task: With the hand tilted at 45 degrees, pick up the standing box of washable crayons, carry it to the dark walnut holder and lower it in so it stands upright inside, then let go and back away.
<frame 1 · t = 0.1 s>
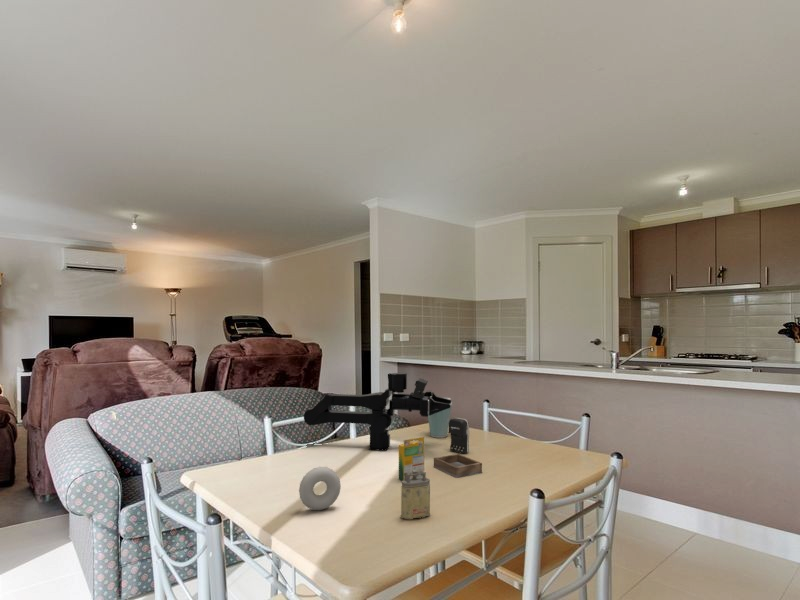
hand: (450, 403, 162), 17 cm above the table, tool horizontal, fingers open, 9 cm apart
holder: (457, 469, 141), on the table
donut: (319, 510, 110), on the table
lighter: (415, 517, 107), on the table
crayon box: (411, 479, 133), on the table
disposable coffee cup: (438, 436, 184), on the table
black upright block: (458, 452, 161), on the table
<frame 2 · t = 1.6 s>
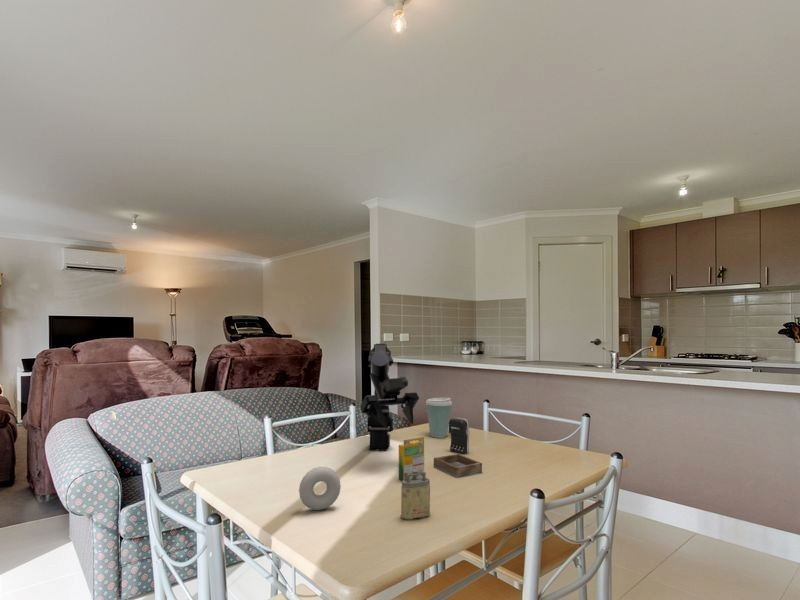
hand: (399, 425, 140), 14 cm above the table, tool tilted 45°, fingers open, 9 cm apart
nothing on the table moved.
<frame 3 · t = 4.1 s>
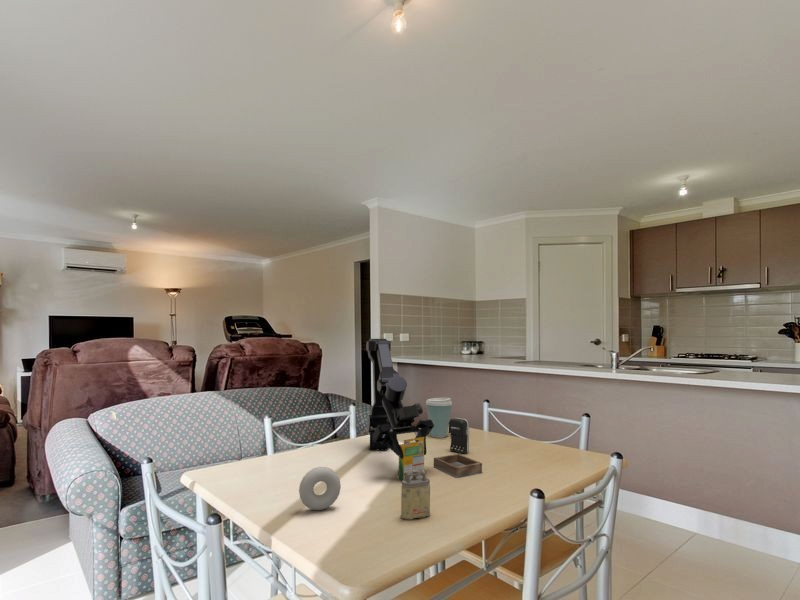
hand: (414, 456, 132), 7 cm above the table, tool tilted 45°, fingers closed on crayon box, 7 cm apart
crayon box: (411, 478, 133), on the table, touching gripper
everything else where it was.
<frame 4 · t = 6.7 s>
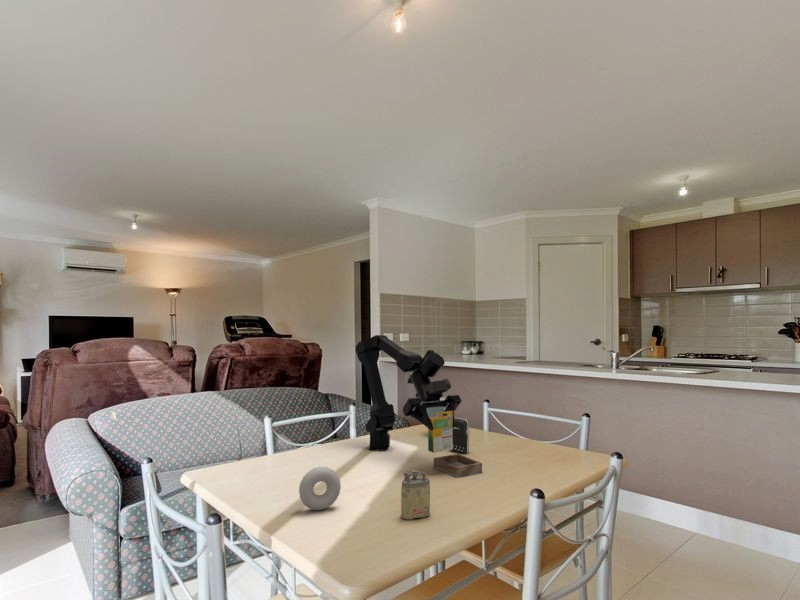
hand: (443, 428, 138), 13 cm above the table, tool tilted 45°, fingers closed on crayon box, 7 cm apart
crayon box: (440, 450, 138), point 6 cm above the table, touching gripper
everything else where it was.
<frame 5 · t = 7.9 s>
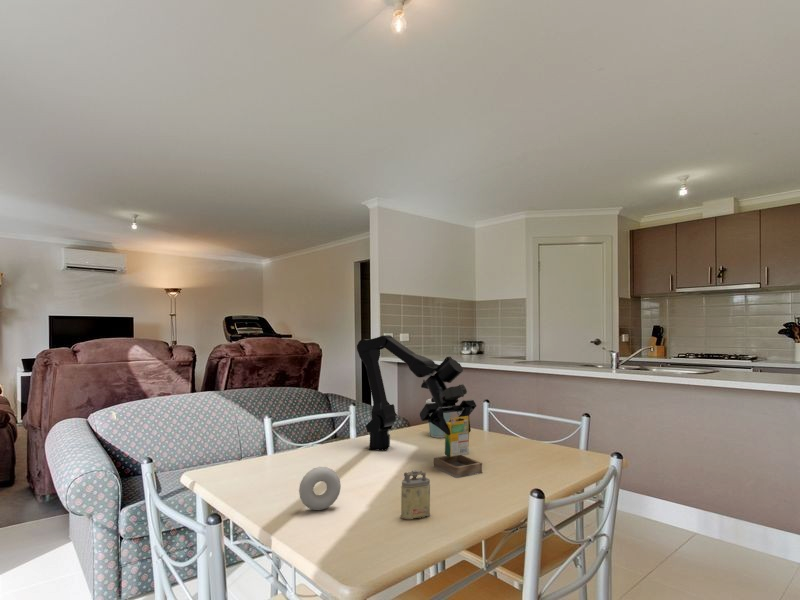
hand: (459, 433, 141), 11 cm above the table, tool tilted 45°, fingers closed on crayon box, 7 cm apart
crayon box: (456, 455, 141), point 4 cm above the table, touching gripper
everything else where it was.
when the fingers open (8 cm above the table, at t = 9.2 s): crayon box stays where it is, resting on holder.
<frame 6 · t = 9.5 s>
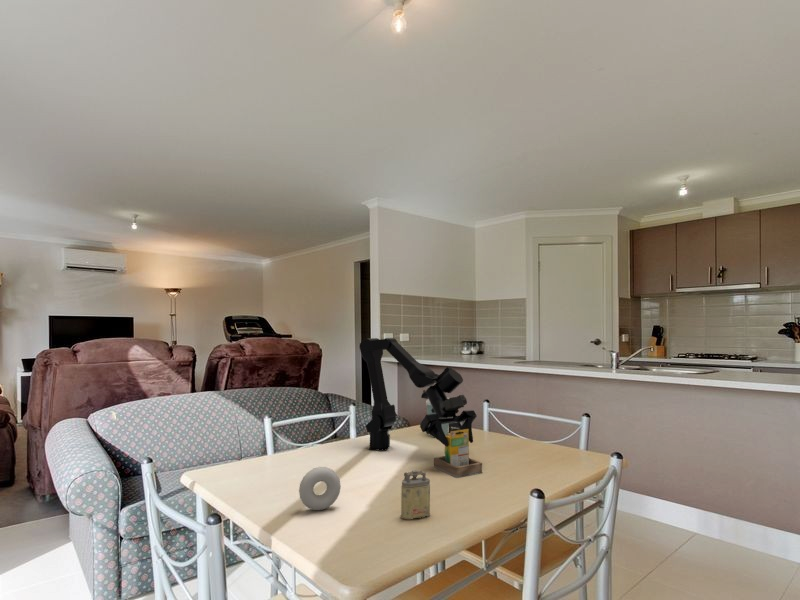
hand: (460, 444, 140), 8 cm above the table, tool tilted 45°, fingers open, 9 cm apart
crayon box: (456, 468, 141), resting on holder
everything else where it was.
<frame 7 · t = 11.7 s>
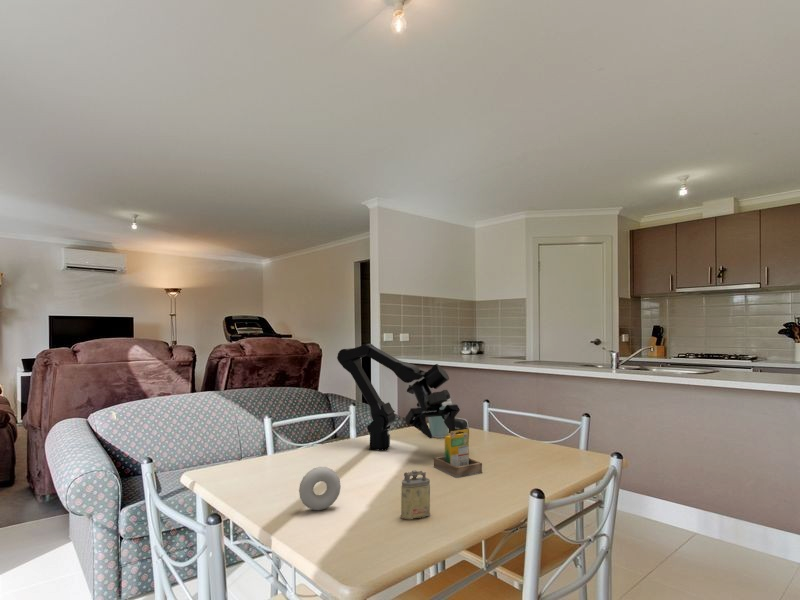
hand: (443, 436, 148), 9 cm above the table, tool tilted 45°, fingers open, 9 cm apart
nothing on the table moved.
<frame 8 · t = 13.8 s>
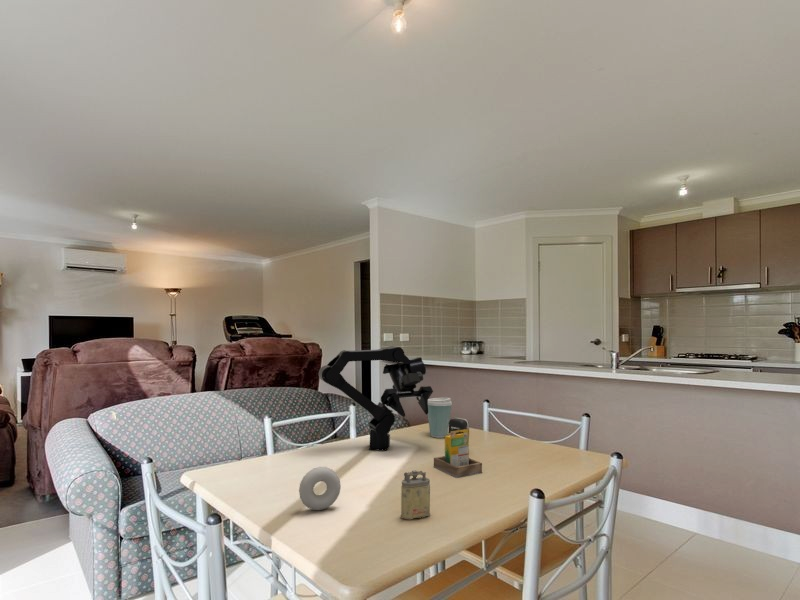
hand: (416, 415, 157), 14 cm above the table, tool tilted 45°, fingers open, 9 cm apart
nothing on the table moved.
at the end: crayon box 0.2 cm from the holder (horizontally); crayon box tilted 0°; the gripper is holding nothing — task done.
